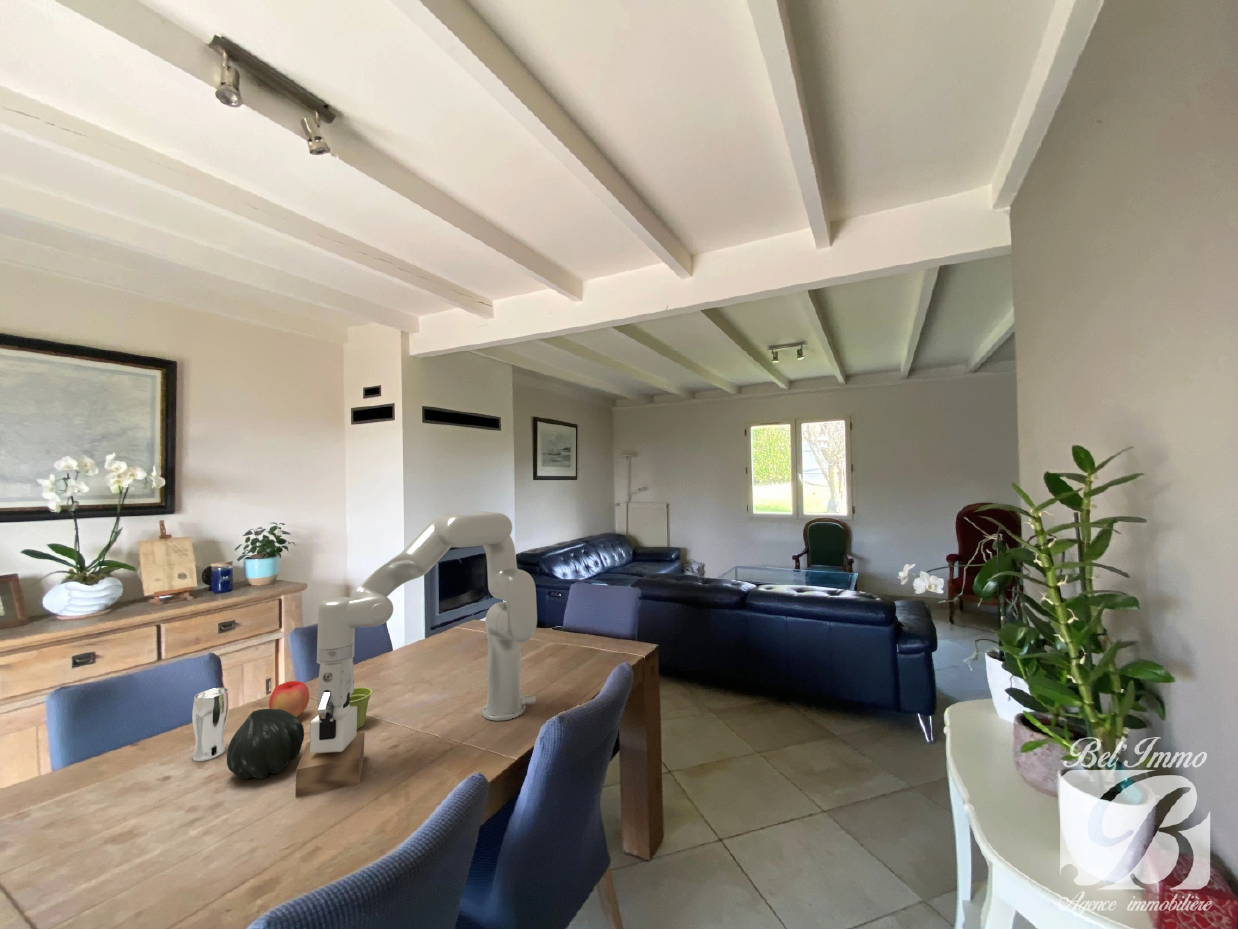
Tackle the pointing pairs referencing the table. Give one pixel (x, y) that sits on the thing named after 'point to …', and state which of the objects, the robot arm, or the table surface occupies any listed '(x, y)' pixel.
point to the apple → (290, 697)
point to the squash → (265, 743)
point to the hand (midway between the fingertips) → (334, 729)
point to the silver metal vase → (210, 722)
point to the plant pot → (360, 703)
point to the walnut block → (330, 768)
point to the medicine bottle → (344, 730)
